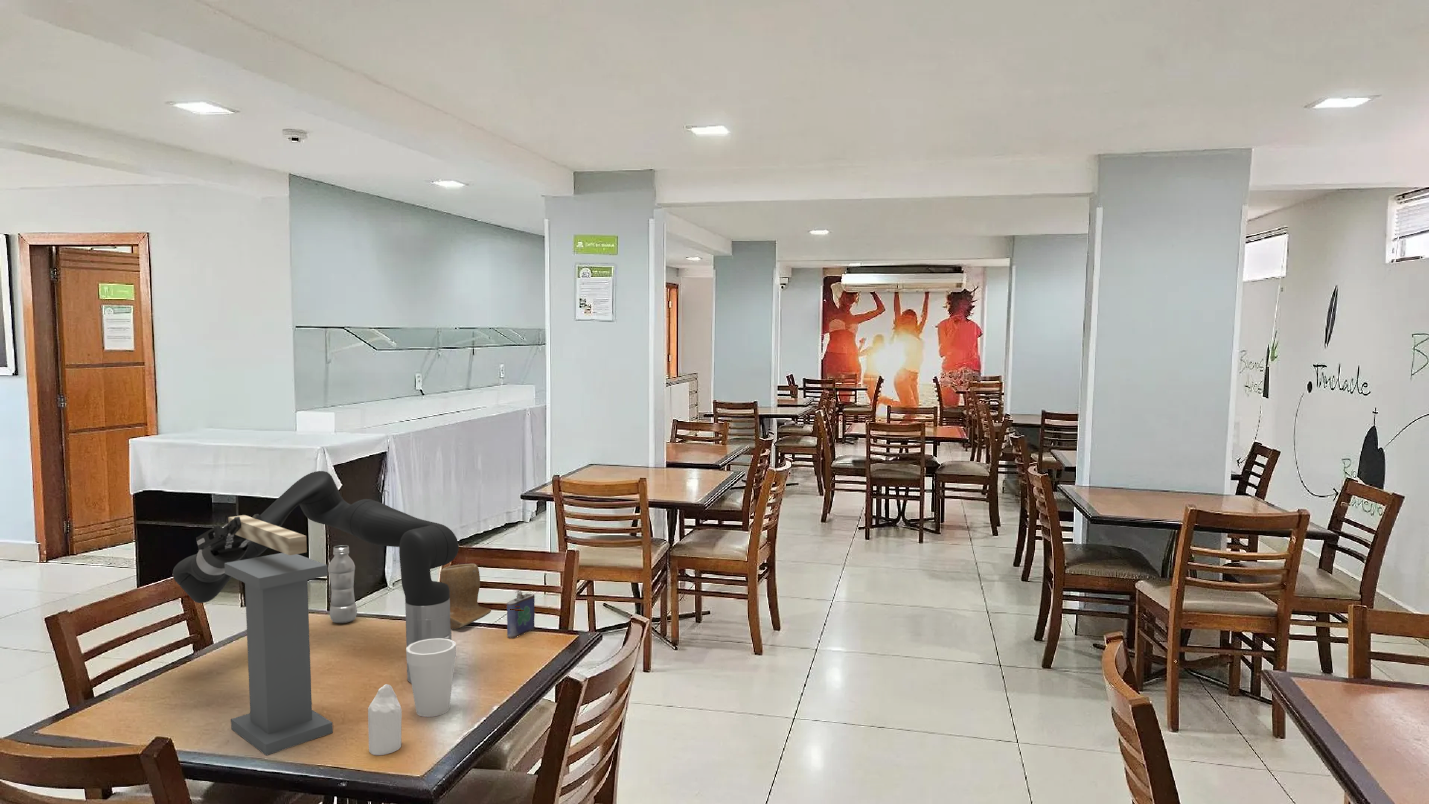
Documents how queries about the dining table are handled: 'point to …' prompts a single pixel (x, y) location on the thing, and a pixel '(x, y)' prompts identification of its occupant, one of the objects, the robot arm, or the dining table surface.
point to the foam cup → (431, 674)
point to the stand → (278, 652)
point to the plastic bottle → (342, 586)
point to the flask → (520, 615)
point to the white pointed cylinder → (384, 722)
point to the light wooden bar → (271, 535)
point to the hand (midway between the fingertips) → (248, 520)
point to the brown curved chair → (463, 594)
